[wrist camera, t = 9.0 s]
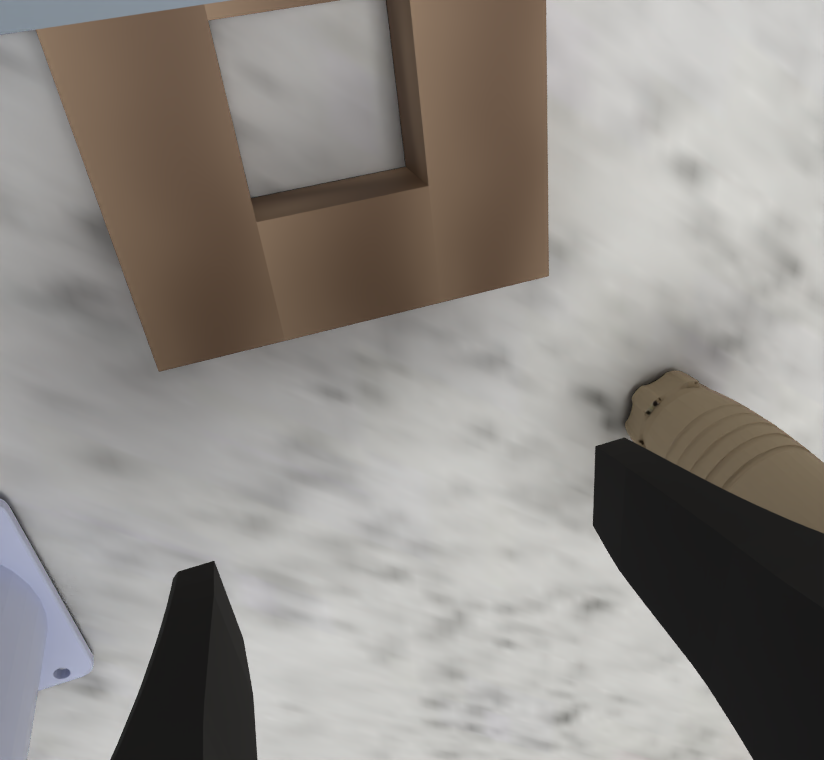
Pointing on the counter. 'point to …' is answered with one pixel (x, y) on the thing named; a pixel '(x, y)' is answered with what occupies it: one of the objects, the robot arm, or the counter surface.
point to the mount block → (316, 205)
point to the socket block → (77, 11)
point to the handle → (728, 447)
